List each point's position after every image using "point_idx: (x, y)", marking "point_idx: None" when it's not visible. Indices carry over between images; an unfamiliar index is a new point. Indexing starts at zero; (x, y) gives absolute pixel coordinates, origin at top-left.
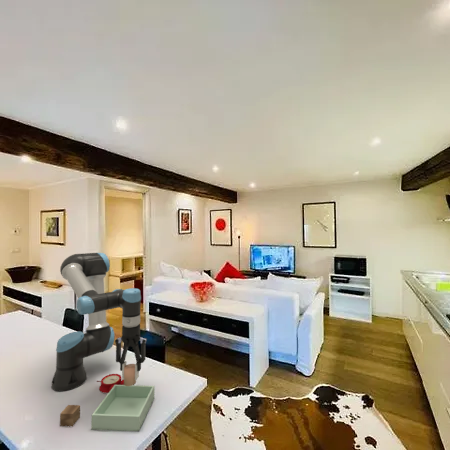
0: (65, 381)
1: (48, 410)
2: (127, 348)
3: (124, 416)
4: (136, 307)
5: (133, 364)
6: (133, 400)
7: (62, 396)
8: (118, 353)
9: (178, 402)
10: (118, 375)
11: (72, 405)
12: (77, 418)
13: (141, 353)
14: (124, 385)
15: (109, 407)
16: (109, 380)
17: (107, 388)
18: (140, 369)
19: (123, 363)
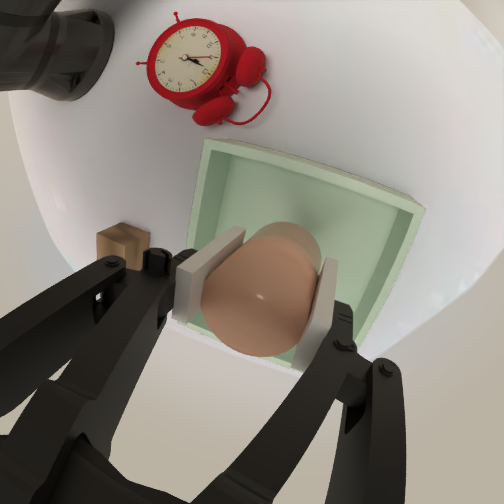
0: (57, 93)
1: (76, 182)
2: (107, 403)
3: (286, 366)
4: None
5: (277, 284)
6: (318, 195)
7: (80, 122)
8: (72, 353)
9: (487, 257)
10: (212, 26)
11: (106, 240)
12: (145, 247)
13: (336, 481)
14: (256, 154)
15: (224, 215)
16: (179, 63)
17: (186, 102)
18: (349, 305)
19: (176, 307)
